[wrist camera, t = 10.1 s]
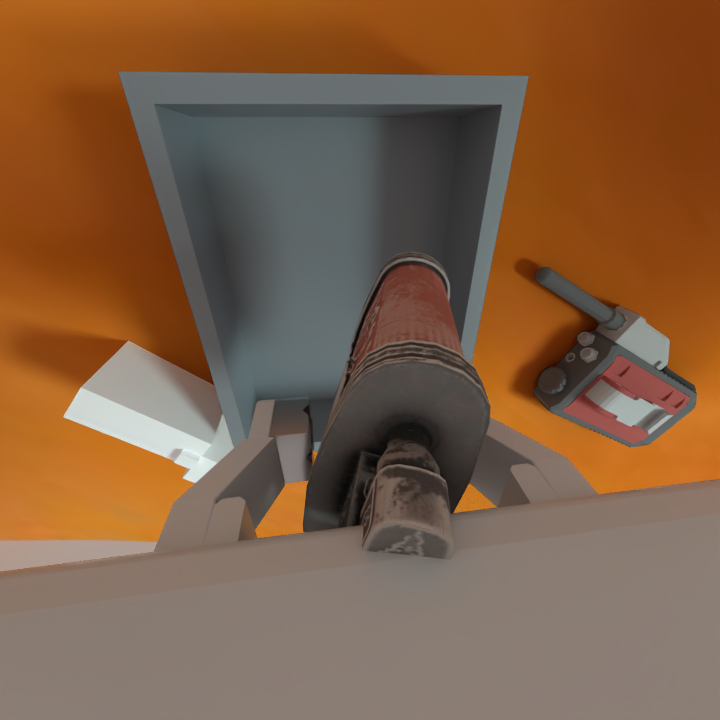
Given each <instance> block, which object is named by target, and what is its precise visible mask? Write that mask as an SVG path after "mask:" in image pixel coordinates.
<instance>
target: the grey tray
mask: <svg viewBox="0 0 720 720" xmlns="http://www.w3.org/2000/svg"><path fill="white" fill-rule="evenodd" d="M118 73H119V76H120V79H121V83H122V86H123V89H124V92H125V96H126V99H127V102H128V105H129V109H130V112H131V115H132V118H133V122H134V125H135V128H136V131H137V135H138V138H139V141H140V144H141V148H142V151H143V154H144V157H145V161H146V164H147V167H148V170H149V174H150V177H151V180H152V183H153V187H154V190H155V193H156V196H157V200H158V203H159V206H160V210H161V213H162V216H163V219H164V223H165V226H166V229H167V232H168V236H169V239H170V242H171V245H172V249H173V252H174V255H175V258H176V262H177V265H178V268H179V271H180V275H181V278H182V281H183V284H184V288H185V291H186V294H187V297H188V301H189V304H190V307H191V310H192V314H193V317H194V320H195V323H196V327H197V330H198V333H199V336H200V340H201V343H202V346H203V349H204V353H205V356H206V359H207V362H208V366H209V369H210V372H211V376H212V379H213V382H214V385H215V389H216V392H217V395H218V398H219V402H220V405H221V408H222V411H223V415H224V418H225V421H226V424H227V428H228V431H229V434H230V437H231V441H232V444H233V447H234V448H235V447H236V446H237V445H238V444H239V443H240V442H241V441H242V440H247V439H248V437H249V433H250V429H251V424H252V420H253V416H254V412H255V407H256V403H257V402H258V401H259V400H271V399H275V400H276V399H284V398H298V397H309V398H310V404H311V418H312V420H313V430H314V450H313V452H317V451H318V450H319V447H320V444H321V441H322V438H323V435H324V432H325V427H326V424H327V421H328V417H329V414H330V411H331V408H332V404H333V401H334V398H335V395H336V392H337V389H338V386H339V383H340V380H341V377H342V374H343V371H344V368H345V365H346V362H347V360H348V357H349V351H350V346H351V342H352V339H353V336H354V333H355V330H356V327H357V324H358V321H359V318H360V315H361V312H362V309H363V306H364V303H365V301H366V299H367V297H368V295H369V293H370V291H371V289H372V287H373V285H374V282H375V280H376V278H377V276H378V274H379V272H380V270H381V268H382V267H383V266H384V264H385V263H386V262H387V261H388V260H389V259H391V258H392V257H394V256H396V255H397V254H402V253H407V252H416V253H423V254H425V255H428V256H430V257H432V258H434V259H435V260H436V261H437V262H438V263H439V264H441V265H442V266H443V268H444V270H445V273H446V275H447V277H448V280H449V283H450V298H449V304H450V308H451V311H452V315H453V319H454V322H455V326H456V329H457V333H458V336H459V340H460V343H461V347H462V350H463V354H464V358H466V359H467V360H468V361H469V362H470V363H472V358H473V353H474V348H475V343H476V338H477V333H478V328H479V323H480V318H481V313H482V308H483V303H484V298H485V293H486V288H487V283H488V278H489V273H490V268H491V263H492V258H493V253H494V248H495V243H496V238H497V233H498V228H499V223H500V218H501V213H502V208H503V203H504V198H505V193H506V188H507V183H508V178H509V173H510V168H511V163H512V158H513V153H514V148H515V143H516V138H517V133H518V128H519V123H520V118H521V113H522V108H523V103H524V98H525V93H526V88H527V83H528V78H529V76H501V75H406V74H310V73H215V72H120V71H118Z"/></svg>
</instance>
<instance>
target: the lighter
mask: <svg viewBox="0 0 720 720" xmlns="http://www.w3.org/2000/svg"><path fill="white" fill-rule="evenodd" d="M449 298H450V283H449V280H448V277H447V275H446V273H445V270H444V268H443V266H442V265H441V264H439V263H438V262H437V261H436V260H435V259H434V258H432V257H430V256H428V255H425V254H423V253H416V252H407V253H402V254H397V255H396V256H394V257H392V258H391V259H389V260H388V261H387V262H386V263H385V264H384V266H383V267H382V268H381V270H380V272H379V274H378V276H377V278H376V280H375V282H374V285H373V287H372V289H371V291H370V293H369V295H368V297H367V299H366V301H365V303H364V306H363V309H362V312H361V315H360V318H359V321H358V324H357V327H356V330H355V333H354V336H353V339H352V342H351V346H350V351H349V357H348V360H347V362H346V365H345V368H344V371H343V374H342V377H341V380H340V383H339V386H338V389H337V392H336V395H335V398H334V401H333V404H332V408H331V411H330V414H329V417H328V421H327V424H326V427H325V432H324V435H323V438H322V441H321V444H320V447H319V450H318V453H317V456H316V459H315V462H314V465H313V468H312V471H311V475H310V478H309V481H308V484H307V490H306V500H305V509H304V519H303V531H304V532H312V531H319V530H327V529H335V528H343V527H350V526H358V525H363V541H362V551H372V552H383V553H393V554H404V555H415V556H424V557H432V558H440V559H448V560H450V558H451V556H452V554H453V552H454V550H455V547H454V539H453V530H452V522H451V513H453V512H454V510H455V508H456V507H457V505H458V503H459V501H460V499H461V497H462V495H463V493H464V492H465V490H466V488H467V486H468V484H469V482H470V480H471V478H472V475H473V472H474V469H475V466H476V463H477V460H478V457H479V454H480V451H481V448H482V445H483V442H484V439H485V436H486V433H487V430H488V427H489V424H490V404H489V401H488V398H487V395H486V392H485V389H484V386H483V383H482V381H481V379H480V377H479V375H478V373H477V371H476V369H475V367H474V365H473V364H471V363H470V362H469V361H468V360H467V359H466V358H464V354H463V350H462V347H461V343H460V340H459V336H458V333H457V329H456V326H455V322H454V319H453V315H452V311H451V308H450V304H449Z"/></svg>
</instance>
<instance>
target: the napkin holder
mask: <svg viewBox="0 0 720 720" xmlns="http://www.w3.org/2000/svg"><path fill="white" fill-rule="evenodd" d="M63 417H64V418H67V419H69V420H72V421H75V422H77V423H80V424H82V425H85V426H87V427H90V428H92V429H95V430H97V431H100V432H102V433H105V434H108V435H110V436H113V437H115V438H118V439H120V440H123V441H125V442H128V443H130V444H133V445H136V446H138V447H141V448H143V449H146V450H148V451H151V452H153V453H156V454H158V455H161V456H163V457H166V458H169V459H171V460H174V463H176V464H178V465H181V466H184V467H186V468H187V469H186V471H185V473H184V476H183V479H186V480H189V481H191V482H194V483H196V482H197V481H198V480H199V479H200V478H202V477H203V476H204V475H205V474H206V473H207V472H208V471H209V470H210V469H211V468H213V467H214V466H215V465H216V464H217V463H218V462H219V461H220V460H221V459H222V458H224V457H225V456H226V455H227V454H228V453H229V452H230V451H231V450H232V449H233V448H234V447H233V444H232V441H231V437H230V434H229V431H228V428H227V424H226V421H225V418H224V415H223V411H222V408H221V405H220V402H219V398H218V395H217V392H216V389H215V386H214V385H212V384H210V383H209V382H207V381H205V380H203V379H201V378H199V377H197V376H195V375H193V374H191V373H189V372H188V371H186V370H184V369H182V368H180V367H178V366H176V365H174V364H172V363H170V362H168V361H166V360H165V359H163V358H161V357H159V356H157V355H155V354H153V353H151V352H149V351H147V350H145V349H144V348H142V347H140V346H138V345H136V344H134V343H132V342H130V341H127V342H126V343H125V344H124V345H123V346H122V347H121V348H120V349H119V350H118V351H117V352H116V353H115V354H114V355H113V356H112V357H111V358H110V359H109V360H108V361H107V362H106V363H105V364H104V365H103V366H102V367H101V368H100V369H99V370H98V371H97V372H96V373H95V374H94V375H93V376H92V377H91V378H90V379H89V380H88V381H87V382H86V383H85V384H84V385H83V386H82V387H81V388H80V389H79V391H78V393H77V395H76V396H75V398H74V400H73V401H72V403H71V405H70V406H69V408H68V410H67V411H66V413H65V415H64V416H63Z"/></svg>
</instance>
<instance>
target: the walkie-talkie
mask: <svg viewBox="0 0 720 720" xmlns="http://www.w3.org/2000/svg"><path fill="white" fill-rule="evenodd" d="M535 280H536V281H537V282H538V283H540V284H541V285H543V286H544V287H546V288H547V289H549V290H551V291H552V292H554V293H555V294H557V295H558V296H560V297H562V298H563V299H565V300H566V301H568V302H569V303H571V304H573V305H574V306H576V307H577V308H579V309H580V310H582V311H583V312H585V313H587V314H588V315H590V316H591V317H593V318H594V319H596V322H597V323H598V324H600V325H599V326H598V327H597V328H596V329H595V330H593V331H588V332H581V333H580V334H579V335H578V336H577V340H578V341H579V342H578V343H577V344H576V345H575V346H574V347H573V348H572V349H571V350H570V351H569V352H568V353H567V354H566V356H565V357H564V358H563V359H562V360H561V361H560V362H559V363H558V364H557V365H556V366H555V367H550V368H548V369H546V370H544V371H543V372H542V374H541V375H540V377H539V379H538V385H537V386H536V387H535V388H534V389H533V391H534V395H535V396H536V397H537V398H538V399H539V400H540V401H541V403H542V404H543V405H544V407H545V408H546V409H547V410H549V411H550V412H552V413H554V414H556V415H559V416H561V417H563V418H565V419H568V420H570V421H572V422H574V423H577V424H579V425H581V426H583V427H585V428H589V429H590V430H593V431H594V432H598V433H599V434H600V433H601V434H602V435H605V436H606V437H609V438H610V439H613V440H615V441H617V442H620V443H622V444H625V445H626V446H629V447H637V446H645V445H648V444H650V443H652V442H653V441H654V440H655V439H657V438H658V437H659V436H660V435H662V434H663V433H664V432H665V431H667V430H668V429H669V428H670V427H672V426H673V425H674V424H676V423H677V422H678V421H679V420H681V419H682V418H683V417H684V416H686V415H687V414H688V413H689V412H691V411H692V410H693V409H694V408H695V405H696V395H697V393H696V392H695V391H696V389H695V386H694V385H693V384H691V383H690V382H688V381H687V380H685V379H683V378H682V377H680V376H679V375H677V374H675V373H674V372H672V371H671V370H670V369H668V368H667V364H668V361H669V360H668V356H669V347H670V340H669V339H668V338H667V337H666V336H664V335H663V334H662V333H660V332H659V331H657V330H656V329H654V328H653V327H652V326H650V325H649V324H647V323H646V319H645V318H643V317H642V316H640V315H639V314H637V313H634V312H632V311H630V310H628V309H626V308H624V307H622V306H617V307H616V308H615V309H614V308H612V307H607V306H606V305H604V304H603V303H601V302H600V301H598V300H597V299H595V298H594V297H592V296H591V295H589V294H588V293H586V292H585V291H583V290H582V289H580V288H579V287H577V286H576V285H574V284H573V283H571V282H570V281H569V280H567V279H566V278H564V277H563V276H561V275H560V274H558V273H557V272H555V271H554V270H552V269H551V268H549V267H543V268H541V269H539V270H537V272H536V273H535ZM657 368H658V369H657ZM665 373H666V374H665ZM678 381H679V382H678Z"/></svg>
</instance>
